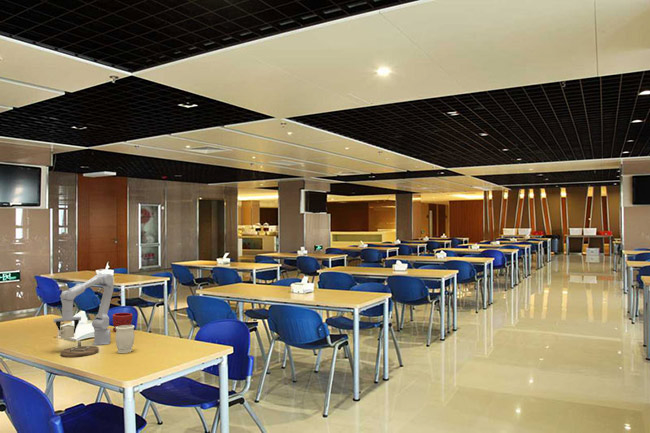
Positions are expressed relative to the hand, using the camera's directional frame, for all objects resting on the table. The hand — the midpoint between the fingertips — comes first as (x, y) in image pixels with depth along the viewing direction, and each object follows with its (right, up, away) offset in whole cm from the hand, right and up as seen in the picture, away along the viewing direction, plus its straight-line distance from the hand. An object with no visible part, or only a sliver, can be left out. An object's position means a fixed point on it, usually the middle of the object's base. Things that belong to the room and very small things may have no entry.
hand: (67, 333), depth 291 cm
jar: (+35, -11, -3) cm, 37 cm away
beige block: (0, -2, -2) cm, 3 cm away
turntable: (+10, -10, -5) cm, 15 cm away
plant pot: (+9, -12, +57) cm, 59 cm away
